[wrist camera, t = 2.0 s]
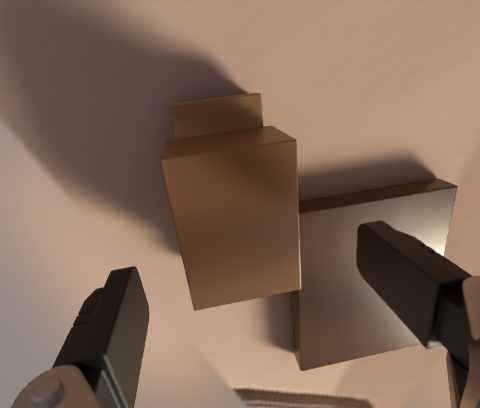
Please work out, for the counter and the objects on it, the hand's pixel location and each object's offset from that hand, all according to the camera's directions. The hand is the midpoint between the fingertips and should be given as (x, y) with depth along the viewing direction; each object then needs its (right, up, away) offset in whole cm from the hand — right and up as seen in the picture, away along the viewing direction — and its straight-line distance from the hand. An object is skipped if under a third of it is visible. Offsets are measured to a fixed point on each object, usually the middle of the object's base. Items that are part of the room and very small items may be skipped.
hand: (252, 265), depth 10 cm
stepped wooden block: (-1, +3, +6) cm, 7 cm away
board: (+8, -3, +10) cm, 13 cm away
